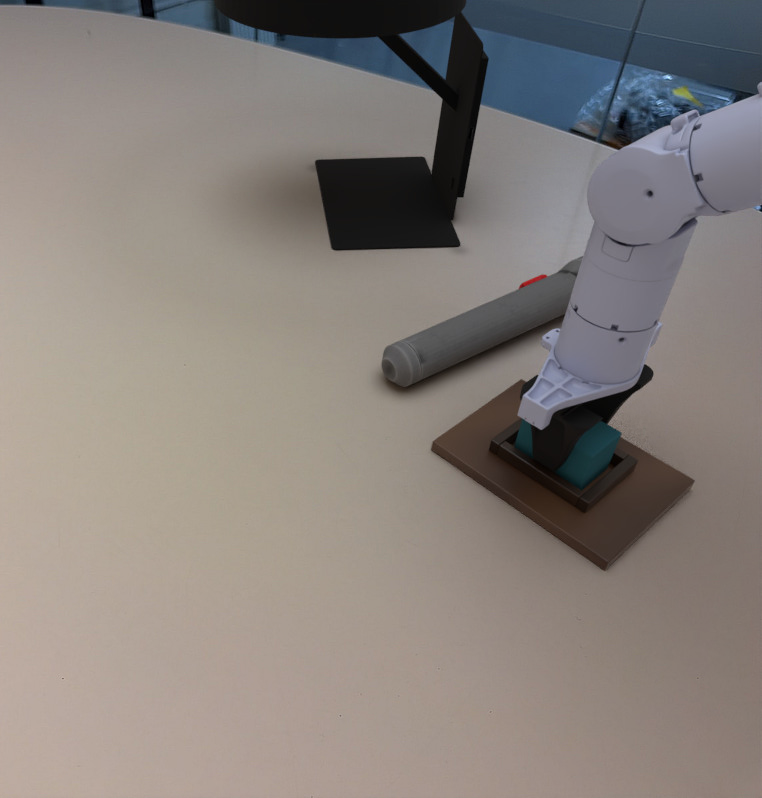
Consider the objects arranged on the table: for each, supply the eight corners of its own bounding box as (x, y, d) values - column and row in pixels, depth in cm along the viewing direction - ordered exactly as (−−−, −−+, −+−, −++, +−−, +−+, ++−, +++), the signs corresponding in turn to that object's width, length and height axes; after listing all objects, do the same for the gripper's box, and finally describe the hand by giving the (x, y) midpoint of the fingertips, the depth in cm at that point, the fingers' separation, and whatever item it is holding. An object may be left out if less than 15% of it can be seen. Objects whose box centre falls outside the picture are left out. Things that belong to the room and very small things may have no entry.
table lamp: (477, 254, 89) (570, -194, 62) (222, 261, 89) (204, -181, 63) (432, 151, 108) (488, -226, 81) (221, 158, 108) (208, -216, 82)
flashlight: (392, 404, 73) (364, 358, 75) (609, 303, 83) (581, 264, 84) (414, 381, 69) (384, 333, 70) (641, 277, 79) (610, 237, 80)
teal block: (607, 468, 64) (622, 432, 61) (578, 493, 62) (592, 457, 59) (541, 428, 67) (553, 392, 65) (512, 451, 66) (523, 415, 63)
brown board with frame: (691, 488, 63) (701, 469, 62) (604, 570, 58) (613, 552, 56) (518, 387, 73) (524, 368, 71) (430, 449, 67) (434, 430, 66)
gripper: (619, 245, 60) (572, 383, 69) (498, 322, 54) (464, 463, 63) (712, 285, 56) (649, 426, 65) (594, 374, 50) (542, 517, 59)
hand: (564, 448), depth 64 cm, fingers open, 4 cm apart
